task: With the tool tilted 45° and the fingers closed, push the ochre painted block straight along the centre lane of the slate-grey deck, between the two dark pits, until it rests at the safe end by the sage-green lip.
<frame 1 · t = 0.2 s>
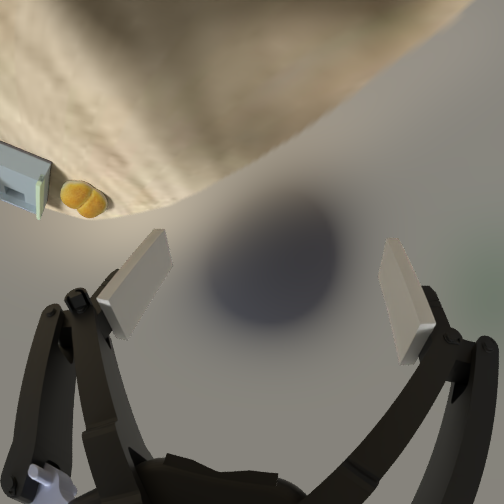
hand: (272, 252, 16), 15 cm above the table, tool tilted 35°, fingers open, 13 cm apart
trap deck: (6, 165, 33), on the table
bread roll: (87, 191, 42), on the table
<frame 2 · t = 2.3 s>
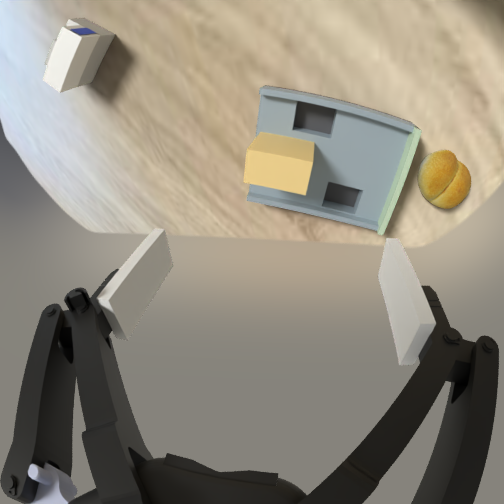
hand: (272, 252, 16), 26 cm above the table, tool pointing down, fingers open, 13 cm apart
foam block: (74, 59, 33), on the table
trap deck: (329, 154, 37), on the table
ochre block: (285, 150, 35), point 2 cm above the table, touching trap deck
bread roll: (442, 176, 34), on the table
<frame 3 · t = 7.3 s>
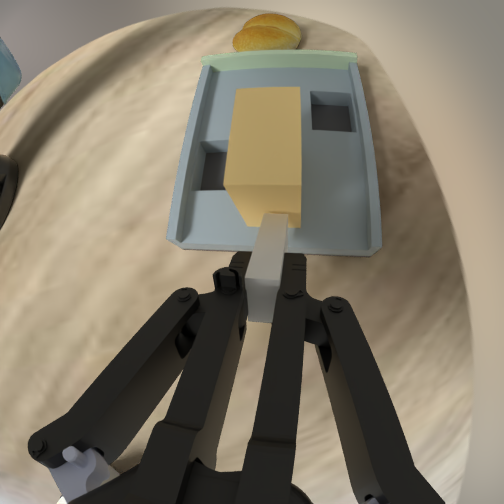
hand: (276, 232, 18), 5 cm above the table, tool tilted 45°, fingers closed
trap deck: (279, 148, 26), on the table
ochre block: (276, 184, 22), point 3 cm above the table, touching gripper
bread roll: (268, 44, 30), on the table
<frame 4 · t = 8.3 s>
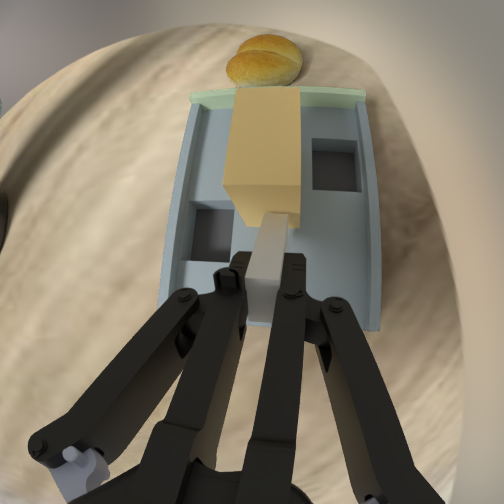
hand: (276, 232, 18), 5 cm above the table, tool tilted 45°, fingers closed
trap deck: (276, 206, 24), on the table
ochre block: (275, 185, 22), point 3 cm above the table, touching gripper
bread roll: (266, 70, 29), on the table
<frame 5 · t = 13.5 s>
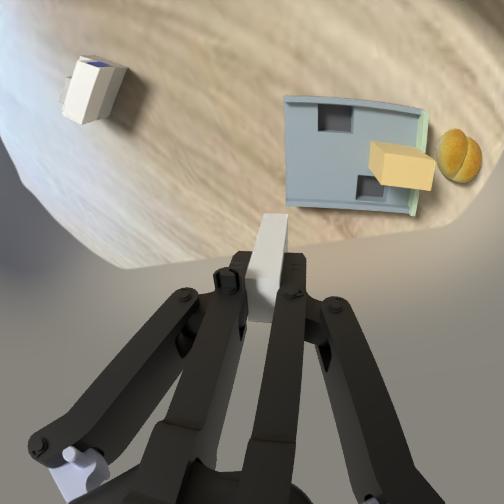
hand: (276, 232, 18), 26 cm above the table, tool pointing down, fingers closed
foam block: (88, 96, 40), on the table
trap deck: (352, 150, 39), on the table
ochre block: (392, 157, 35), point 2 cm above the table, touching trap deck
bread roll: (455, 154, 35), on the table
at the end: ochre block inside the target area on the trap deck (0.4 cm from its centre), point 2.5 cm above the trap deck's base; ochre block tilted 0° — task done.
